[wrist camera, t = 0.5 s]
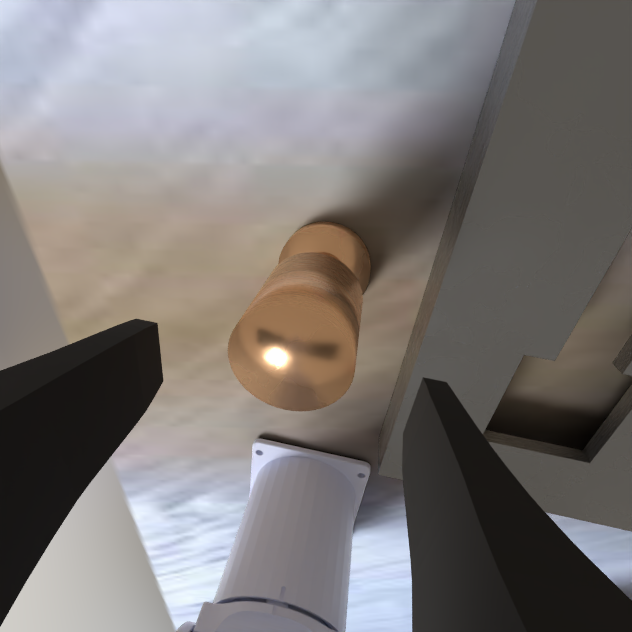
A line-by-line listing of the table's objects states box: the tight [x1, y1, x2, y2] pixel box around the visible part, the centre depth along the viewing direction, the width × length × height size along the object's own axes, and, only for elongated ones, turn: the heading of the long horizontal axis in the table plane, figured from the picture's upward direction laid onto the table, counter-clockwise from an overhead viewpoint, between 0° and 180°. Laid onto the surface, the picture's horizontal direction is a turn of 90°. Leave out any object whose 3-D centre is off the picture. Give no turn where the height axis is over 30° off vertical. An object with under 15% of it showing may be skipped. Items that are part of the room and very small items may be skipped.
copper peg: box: [228, 222, 371, 411], centre depth 15 cm, size 4×4×8 cm
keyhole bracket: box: [378, 0, 632, 531], centre depth 16 cm, size 22×14×3 cm, turn 173°
